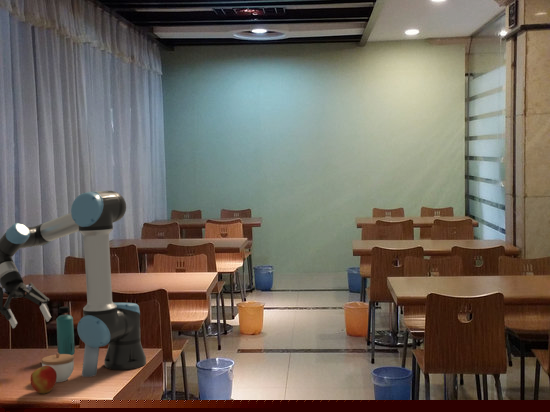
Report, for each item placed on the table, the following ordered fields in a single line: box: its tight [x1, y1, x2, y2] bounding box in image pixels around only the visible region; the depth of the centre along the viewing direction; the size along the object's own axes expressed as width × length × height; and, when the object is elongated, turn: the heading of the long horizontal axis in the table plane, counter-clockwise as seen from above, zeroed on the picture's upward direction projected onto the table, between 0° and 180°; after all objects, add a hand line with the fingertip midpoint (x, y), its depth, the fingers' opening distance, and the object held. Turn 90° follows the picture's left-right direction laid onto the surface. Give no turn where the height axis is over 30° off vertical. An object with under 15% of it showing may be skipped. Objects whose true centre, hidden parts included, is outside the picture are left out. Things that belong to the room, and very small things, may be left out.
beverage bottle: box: [55, 306, 76, 356], centre depth 281 cm, size 6×7×20 cm
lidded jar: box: [41, 352, 75, 383], centre depth 252 cm, size 11×11×9 cm
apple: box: [30, 361, 57, 394], centre depth 238 cm, size 8×8×10 cm
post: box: [81, 343, 100, 378], centre depth 257 cm, size 5×5×12 cm
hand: (32, 322), depth 261 cm, fingers open, 13 cm apart
